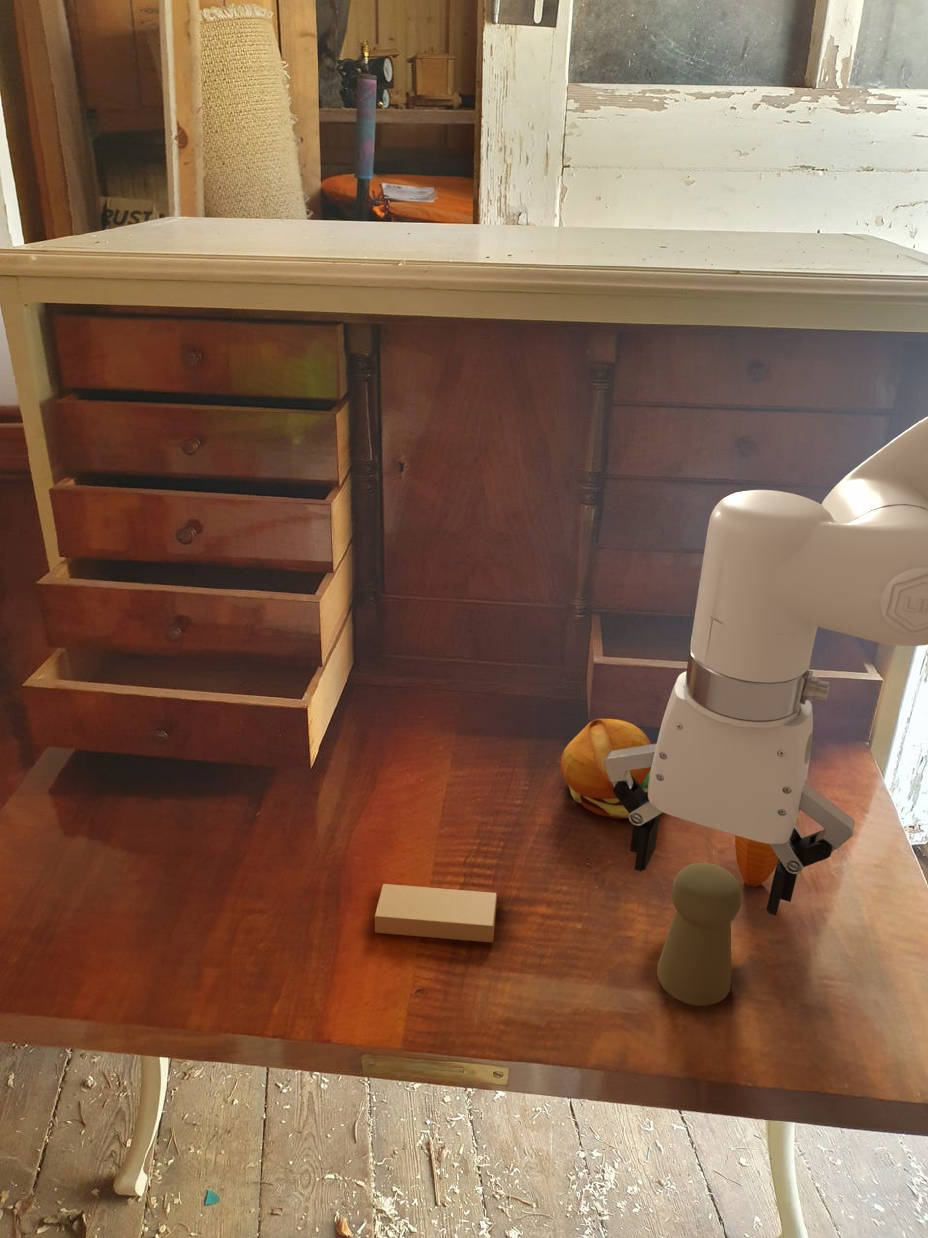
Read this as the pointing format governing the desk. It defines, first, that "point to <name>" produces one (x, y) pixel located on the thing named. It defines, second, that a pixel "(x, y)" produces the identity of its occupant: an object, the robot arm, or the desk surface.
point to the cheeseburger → (600, 764)
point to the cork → (700, 935)
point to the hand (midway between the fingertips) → (707, 880)
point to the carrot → (754, 860)
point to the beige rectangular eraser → (436, 913)
